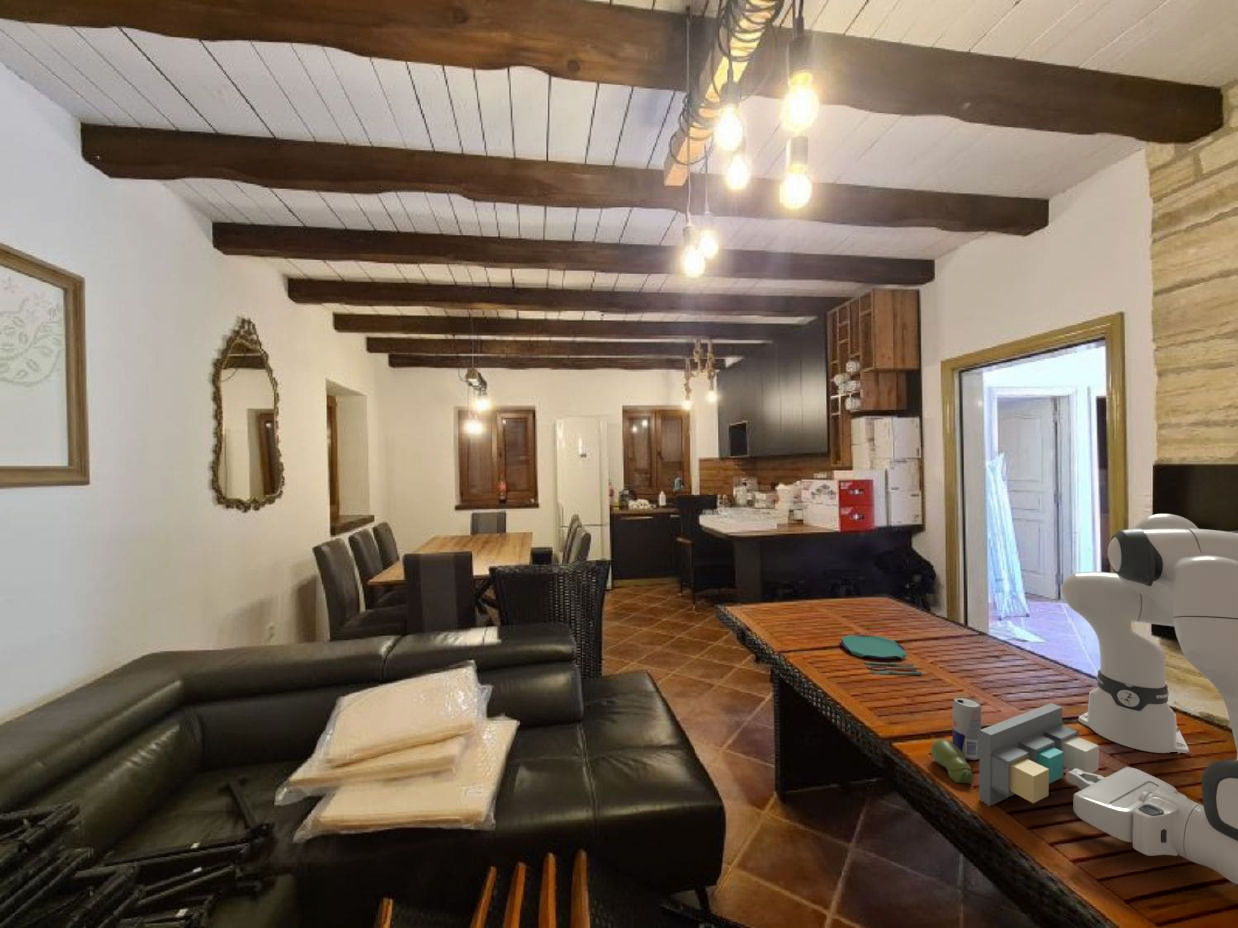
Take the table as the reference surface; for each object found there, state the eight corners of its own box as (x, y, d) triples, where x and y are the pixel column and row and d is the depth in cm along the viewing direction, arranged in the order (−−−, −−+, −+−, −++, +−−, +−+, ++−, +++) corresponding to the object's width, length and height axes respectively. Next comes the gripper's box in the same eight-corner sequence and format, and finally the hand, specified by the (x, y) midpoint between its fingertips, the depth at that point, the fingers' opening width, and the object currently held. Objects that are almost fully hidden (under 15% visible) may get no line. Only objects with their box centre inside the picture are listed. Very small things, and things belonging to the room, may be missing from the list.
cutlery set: (892, 641, 186) (892, 634, 186) (929, 678, 156) (929, 671, 156) (834, 639, 189) (834, 632, 189) (860, 675, 159) (860, 668, 159)
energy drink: (953, 744, 121) (954, 693, 120) (981, 752, 117) (982, 700, 117) (950, 754, 116) (951, 702, 116) (979, 763, 113) (980, 709, 113)
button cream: (1071, 757, 108) (1071, 734, 107) (1098, 769, 103) (1098, 745, 103) (1058, 763, 105) (1058, 739, 105) (1085, 776, 101) (1085, 751, 101)
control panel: (1050, 766, 112) (1051, 702, 112) (1078, 779, 107) (1079, 713, 107) (979, 799, 101) (979, 729, 101) (1007, 816, 97) (1008, 742, 96)
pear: (952, 734, 115) (983, 768, 105) (949, 754, 116) (979, 790, 106) (927, 733, 115) (955, 768, 105) (924, 754, 116) (952, 790, 106)
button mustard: (1021, 781, 100) (1021, 756, 100) (1048, 795, 96) (1048, 768, 96) (1006, 788, 98) (1006, 762, 98) (1033, 803, 94) (1033, 776, 94)
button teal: (1036, 764, 105) (1037, 740, 105) (1063, 776, 101) (1063, 751, 101) (1022, 770, 103) (1022, 746, 103) (1049, 783, 99) (1049, 758, 99)
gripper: (1198, 784, 90) (1098, 744, 102) (1141, 819, 81) (1040, 770, 94) (1197, 820, 90) (1098, 775, 103) (1140, 859, 81) (1039, 804, 94)
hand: (1069, 773), depth 98 cm, fingers closed
